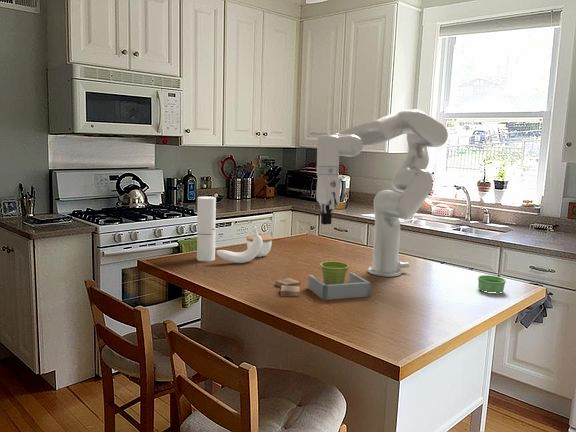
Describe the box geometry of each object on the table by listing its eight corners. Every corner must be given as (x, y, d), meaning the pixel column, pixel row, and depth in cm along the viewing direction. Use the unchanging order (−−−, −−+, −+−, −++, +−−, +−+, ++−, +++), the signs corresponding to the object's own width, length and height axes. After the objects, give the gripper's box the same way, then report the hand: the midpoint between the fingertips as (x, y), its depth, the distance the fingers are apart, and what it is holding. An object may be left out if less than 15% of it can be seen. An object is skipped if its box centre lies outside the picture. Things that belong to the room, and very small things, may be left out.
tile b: (299, 292, 171) (299, 286, 171) (299, 297, 165) (299, 291, 165) (281, 291, 171) (281, 285, 171) (280, 296, 165) (280, 290, 165)
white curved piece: (215, 263, 202) (215, 226, 200) (258, 259, 212) (259, 223, 210) (220, 266, 198) (220, 228, 196) (264, 261, 208) (265, 225, 206)
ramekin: (487, 295, 174) (488, 282, 173) (471, 287, 182) (472, 275, 182) (510, 294, 176) (511, 281, 176) (493, 286, 185) (494, 274, 184)
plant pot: (345, 295, 168) (346, 269, 166) (316, 292, 170) (317, 266, 169) (349, 287, 177) (350, 262, 175) (322, 284, 179) (323, 260, 178)
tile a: (289, 283, 180) (289, 278, 180) (300, 287, 176) (300, 282, 176) (275, 286, 177) (275, 280, 176) (286, 290, 172) (286, 284, 172)
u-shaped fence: (351, 284, 180) (352, 272, 179) (370, 296, 168) (371, 282, 167) (308, 287, 174) (308, 274, 174) (323, 300, 162) (324, 286, 161)
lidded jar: (240, 255, 218) (241, 233, 216) (256, 251, 226) (257, 230, 225) (261, 259, 212) (261, 236, 210) (276, 255, 220) (277, 233, 219)
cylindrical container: (218, 259, 210) (219, 197, 206) (206, 262, 204) (207, 199, 200) (205, 256, 213) (205, 196, 210) (193, 259, 207) (193, 197, 204)
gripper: (347, 173, 172) (345, 227, 175) (328, 169, 186) (327, 219, 189) (326, 173, 169) (324, 228, 173) (309, 169, 183) (308, 220, 186)
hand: (326, 223), depth 181 cm, fingers closed
